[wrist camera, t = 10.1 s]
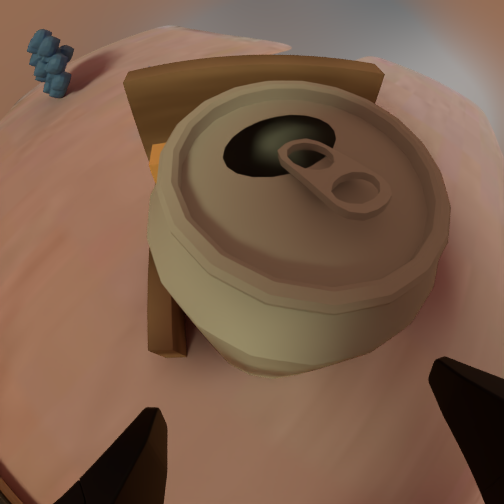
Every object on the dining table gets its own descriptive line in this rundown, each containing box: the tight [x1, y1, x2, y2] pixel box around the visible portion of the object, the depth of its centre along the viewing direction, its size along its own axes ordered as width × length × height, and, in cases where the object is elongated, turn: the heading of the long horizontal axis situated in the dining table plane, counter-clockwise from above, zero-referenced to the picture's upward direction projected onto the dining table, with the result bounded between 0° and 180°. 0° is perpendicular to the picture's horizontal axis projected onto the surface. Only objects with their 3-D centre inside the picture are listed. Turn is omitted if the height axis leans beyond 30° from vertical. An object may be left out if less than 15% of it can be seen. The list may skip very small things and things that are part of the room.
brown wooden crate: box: [123, 55, 385, 358], centre depth 13 cm, size 11×12×10 cm
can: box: [147, 81, 451, 379], centre depth 10 cm, size 8×8×12 cm
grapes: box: [27, 29, 74, 98], centre depth 23 cm, size 12×7×12 cm, turn 53°
